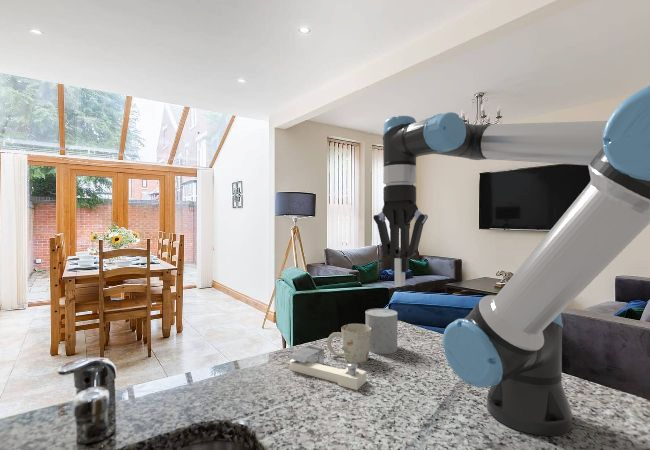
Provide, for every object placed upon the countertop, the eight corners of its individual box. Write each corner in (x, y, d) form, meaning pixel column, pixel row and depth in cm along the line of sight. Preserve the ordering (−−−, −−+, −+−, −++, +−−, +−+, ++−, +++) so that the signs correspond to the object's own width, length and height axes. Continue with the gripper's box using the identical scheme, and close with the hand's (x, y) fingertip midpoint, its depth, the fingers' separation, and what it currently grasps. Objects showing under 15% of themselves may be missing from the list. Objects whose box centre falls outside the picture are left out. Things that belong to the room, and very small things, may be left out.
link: (366, 381, 87) (366, 371, 87) (356, 390, 82) (356, 379, 82) (296, 364, 97) (296, 354, 97) (285, 370, 93) (285, 360, 93)
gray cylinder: (400, 359, 104) (400, 316, 104) (367, 359, 104) (366, 316, 104) (394, 347, 114) (394, 308, 114) (363, 347, 114) (363, 308, 114)
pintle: (359, 383, 86) (359, 363, 86) (354, 388, 84) (354, 367, 84) (350, 381, 88) (350, 361, 88) (344, 385, 85) (344, 364, 85)
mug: (370, 371, 96) (370, 333, 96) (323, 367, 99) (323, 330, 99) (372, 359, 104) (372, 324, 104) (329, 356, 107) (329, 322, 107)
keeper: (323, 368, 98) (323, 348, 98) (304, 380, 91) (303, 358, 91) (309, 364, 101) (309, 345, 101) (288, 375, 94) (288, 354, 94)
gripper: (432, 184, 85) (432, 285, 85) (381, 187, 92) (382, 280, 93) (420, 182, 79) (420, 291, 79) (367, 185, 86) (367, 285, 87)
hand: (399, 285), depth 86 cm, fingers closed
